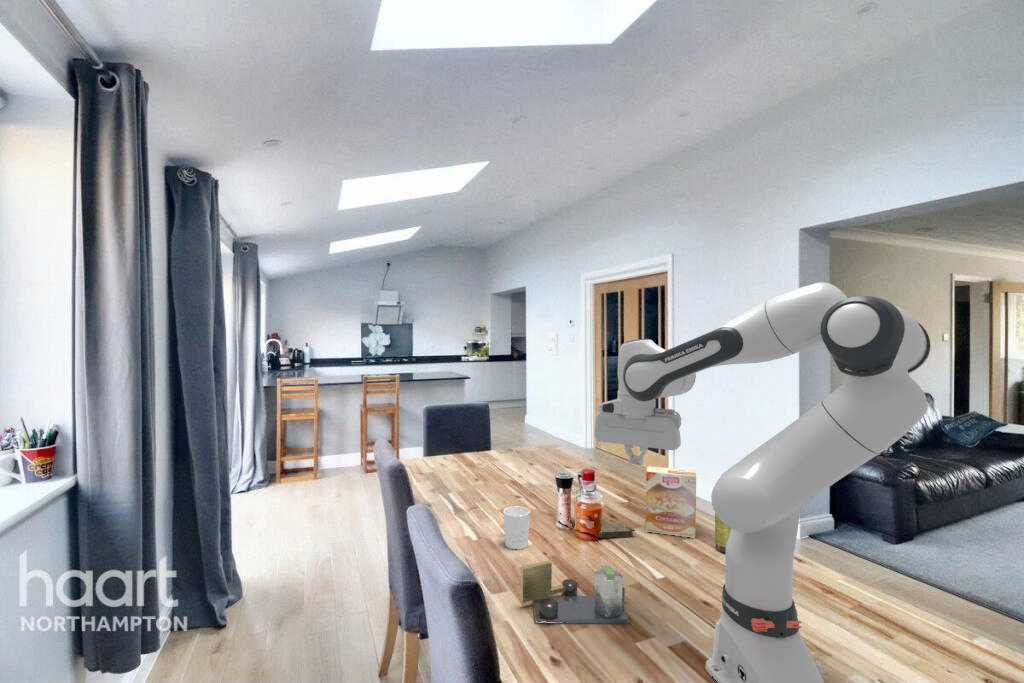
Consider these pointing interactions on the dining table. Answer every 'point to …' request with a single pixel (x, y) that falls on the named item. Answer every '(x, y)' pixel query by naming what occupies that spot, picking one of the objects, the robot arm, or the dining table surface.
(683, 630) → the dining table surface
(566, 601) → the base
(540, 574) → the olive upright panel
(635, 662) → the dining table surface
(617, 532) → the stone slab
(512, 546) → the white cup
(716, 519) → the sauce bottle
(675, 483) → the coffeecake box
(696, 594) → the dining table surface
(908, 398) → the robot arm
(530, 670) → the dining table surface
